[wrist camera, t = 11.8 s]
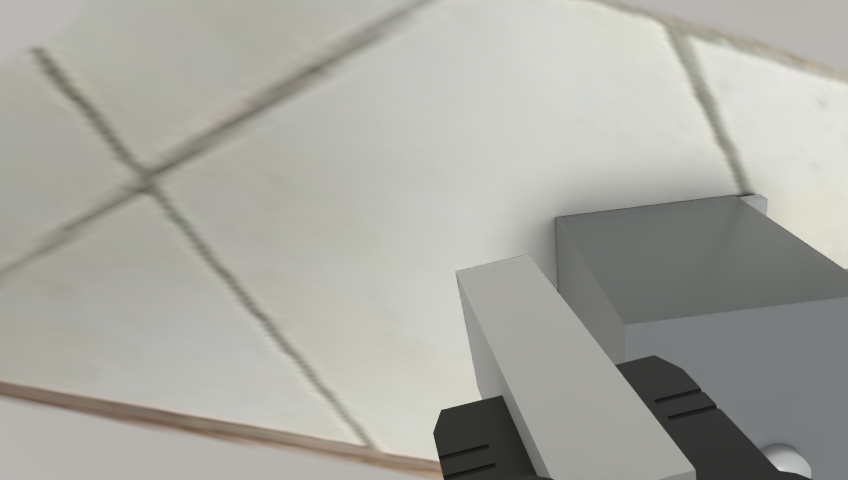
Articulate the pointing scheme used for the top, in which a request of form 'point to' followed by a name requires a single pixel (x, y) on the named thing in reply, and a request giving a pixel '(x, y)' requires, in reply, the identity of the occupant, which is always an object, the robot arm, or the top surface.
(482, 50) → the top surface
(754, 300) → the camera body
